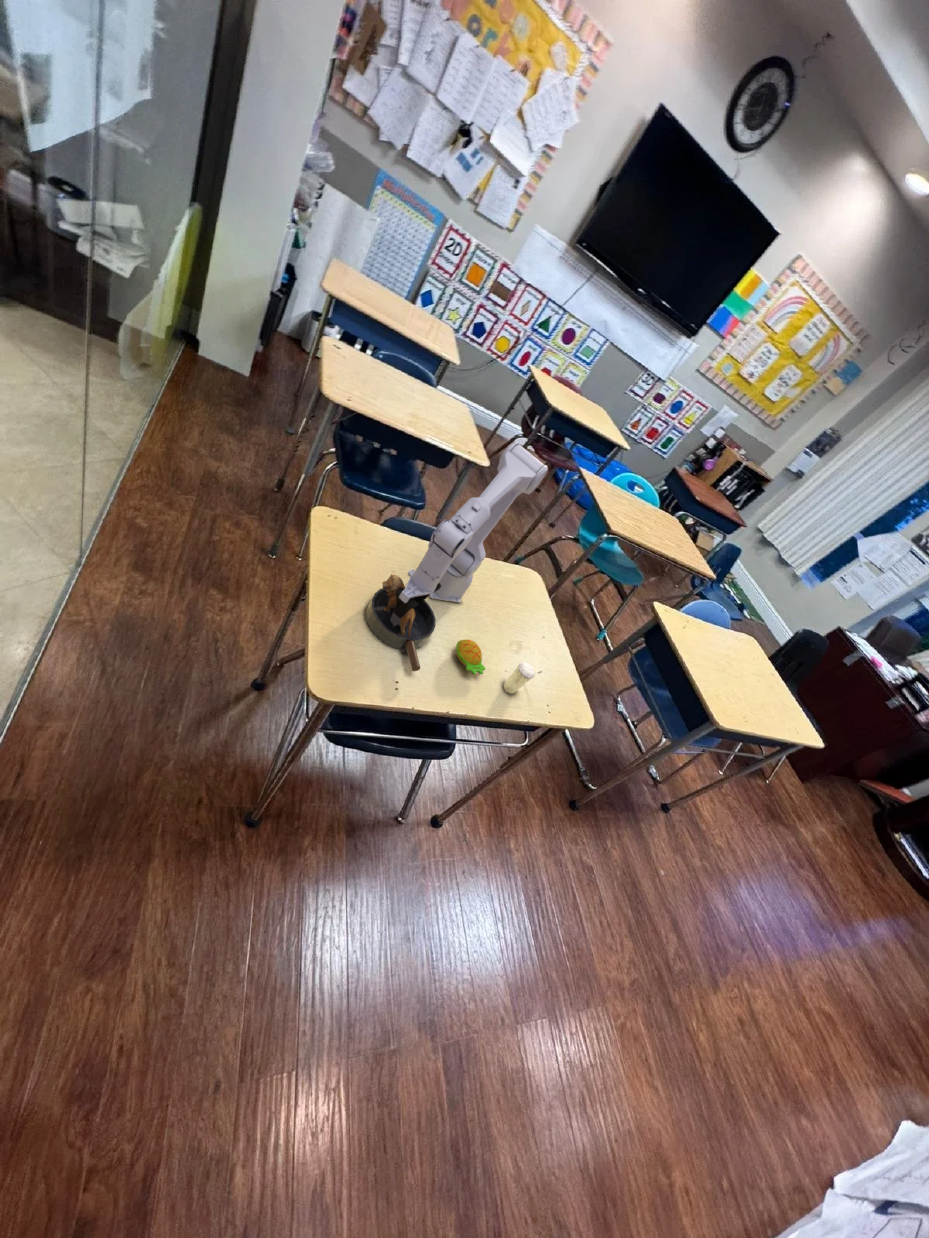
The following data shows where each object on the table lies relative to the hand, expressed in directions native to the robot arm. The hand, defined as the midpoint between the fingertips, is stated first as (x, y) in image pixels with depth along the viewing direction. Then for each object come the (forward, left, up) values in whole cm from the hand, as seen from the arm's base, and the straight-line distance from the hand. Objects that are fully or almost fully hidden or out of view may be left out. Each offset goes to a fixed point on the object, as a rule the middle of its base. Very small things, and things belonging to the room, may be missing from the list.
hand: (407, 608), depth 120 cm
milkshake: (-27, +18, -6) cm, 33 cm away
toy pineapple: (-16, +11, -6) cm, 20 cm away
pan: (0, 0, -6) cm, 6 cm away
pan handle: (0, +12, -6) cm, 13 cm away
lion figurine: (+1, -1, -5) cm, 5 cm away
